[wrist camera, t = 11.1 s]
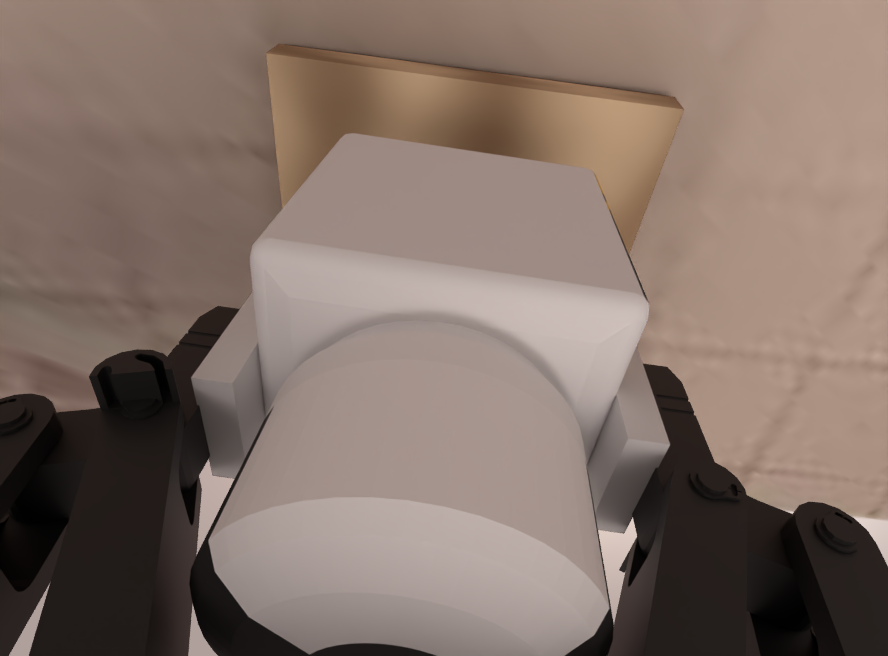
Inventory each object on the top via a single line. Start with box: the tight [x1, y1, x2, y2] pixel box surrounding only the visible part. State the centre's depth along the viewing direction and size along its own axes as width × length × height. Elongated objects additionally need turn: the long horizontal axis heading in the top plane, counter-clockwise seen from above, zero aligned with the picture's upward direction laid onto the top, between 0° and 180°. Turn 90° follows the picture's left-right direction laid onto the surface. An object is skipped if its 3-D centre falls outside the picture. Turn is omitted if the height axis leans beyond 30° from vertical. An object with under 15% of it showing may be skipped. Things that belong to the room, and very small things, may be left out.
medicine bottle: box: [189, 133, 649, 656], centre depth 12 cm, size 7×7×12 cm
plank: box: [266, 44, 684, 254], centre depth 24 cm, size 16×8×2 cm, turn 84°
